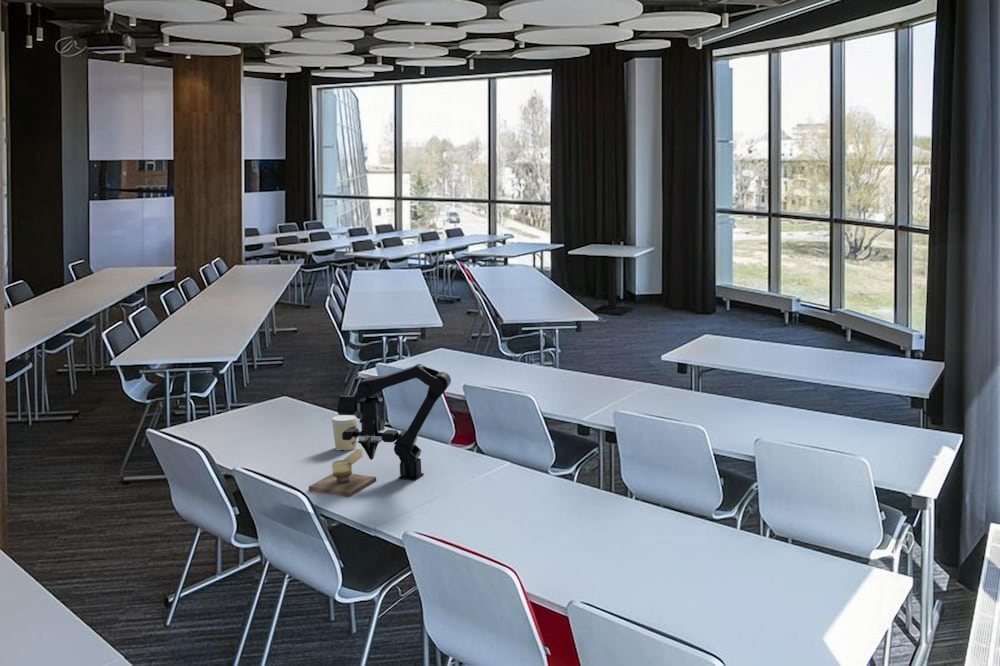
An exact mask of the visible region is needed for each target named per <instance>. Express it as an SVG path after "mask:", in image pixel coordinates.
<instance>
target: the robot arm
mask: <svg viewBox="0 0 1000 666" xmlns="http://www.w3.org/2000/svg"><path fill="white" fill-rule="evenodd" d="M415 379H417V380H419V381H421V382H422V383H423V384H424V385H426V386H428V389H427V394H426V396H425V398H424V400H423V401H422V404H421V406H420V407H419V408H418V411H417V412H416V415H415V416H414V418H413V420H412V422H411V423H410V425H409V427H408V429H404V428H403V429H402V430H401V431H400V433H399V431H398V430H397V429H387V430H385V426H386V425H385V424H386V421H385V420H381V418H380V415H378V413H379V412H378V404H381V403H382V402H383V401H384V399H383V397H381V396H379V394H378V393H379V392H381V391H382V390H384V389H386V388H388V387H393V386H395V385H398V384H402V383H404V382H407V381H410V380H415ZM451 382H452V379H451V376H450V375H449V373H447V372H444V371H438V370H437V369H434V368H431V367H428V366H425V365H423V364H421V363H418V364H415V365H413V366H410V367H406V368H404V369H401V370H397V371H395V372H392V373H388V374H385V375H376V376H375V375H374V376H370V377H366V378H364V379H363V380H361V382H359V383H358V385H357V391H356V393H355V394H353V395H345V394H340V395H339V396H338V401H337V407H336V408H337V415H338V416H339V415H354V416H356V415H358V414H357V413H359V412H360V419H359V424H361V430H359V428H348V429H347V430H345V431H344V432H343V433H342V440H351V439H352V438H353V437H357V438H358V440H357V444H360V445H361V447H362V449H364V452H365V454H366V455H367V456H368V459H369V460H371V461H372V460H374V458H375V454H376V451H377V447H378V446H379V443H381V442H382V441H383V442H384V443H393V445H394V447H393V451H394V454H395V455H396V456H397V457H398V459H399V461H400V463H399V476H398V478H399V479H403V480H408V481H409V480H411V481H416V480H418V479H420V478H421V477H423V476H424V475H425V473H423V472H422V459H421V458H420V455H421V453H422V449H421V448H420V447H418V445H416V444H417V443H416V442H417V440H418V436H419V432H420V431H421V429H422V427H423V426H424V424H425V423H426V420H427V418H428V417H429V415H430V413H431V411H432V410H433V408H434V406H435V405H436V402H437V401H438V400H439V398H441V396H442V395H443V394H444V393H445V391H446V390H447V389H448V388H449V387H450V385H451ZM373 395H376V396H373ZM363 398H364V399H363ZM381 431H384V432H381Z"/></svg>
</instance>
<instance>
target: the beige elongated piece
mask: <svg viewBox="0 0 1000 666" xmlns="http://www.w3.org/2000/svg"><path fill="white" fill-rule="evenodd" d="M361 458H363V449H361V448H359V449H358V448H356V449H354V450H353V452H351V453H350V454H349V455H348V456H346V457H345V458H344V459H340V460H339V459H338V460H334V461H332V463H331V469H332V474H333V476H334V477H337V478H343V477H348V476H351V475H352V474H353V467H352V465H353V464H355V463H357V462H358V461H359V460H360V459H361Z"/></svg>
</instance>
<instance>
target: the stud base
mask: <svg viewBox="0 0 1000 666" xmlns="http://www.w3.org/2000/svg"><path fill="white" fill-rule="evenodd" d="M375 482H377V477H376V476H374V475H365V474H357V473H352V475H351V476H348V477H343V478H337V477H334V476H333V473H332V474H329V475H327V476H326V477H324V478H322V479H321V480H318V481H316V482H315V483H313V484H310V485H308V491H309V492H313V491H315V493H321V494H329V495H335V496H343V497H347V498H348V497H349V498H350V497H352V496H354V495H355V494H357V493H358V492H360V491H362V490H364V489H366V488H367V487H369V486H370V485H373V484H374V483H375Z"/></svg>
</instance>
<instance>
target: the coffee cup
mask: <svg viewBox="0 0 1000 666" xmlns="http://www.w3.org/2000/svg"><path fill="white" fill-rule="evenodd" d="M331 423H332V431H333V437H334V445H335V450H336V449H338V450H350V449H354V448H356V449H357V444H358V440H357V438H358V437H353V438H352V439H351V440H342V433H343V432H344V431H345V430H347V429H348V428H357V427H358V426H357V425H358V418H357V416H356V415H339V414H338V415H335V416H333V417H332V420H331ZM338 450H337V451H338ZM354 450H355V449H354Z"/></svg>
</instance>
